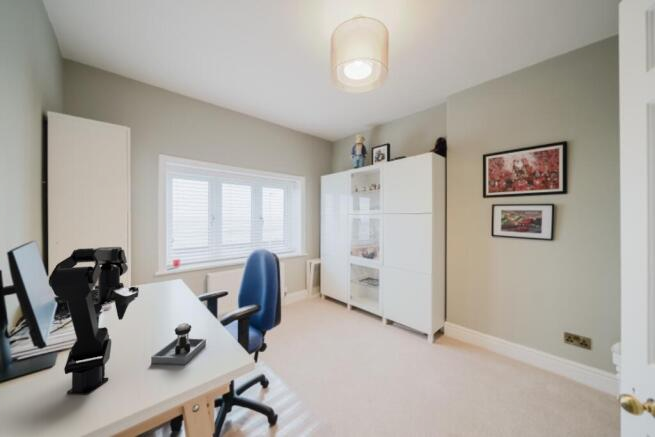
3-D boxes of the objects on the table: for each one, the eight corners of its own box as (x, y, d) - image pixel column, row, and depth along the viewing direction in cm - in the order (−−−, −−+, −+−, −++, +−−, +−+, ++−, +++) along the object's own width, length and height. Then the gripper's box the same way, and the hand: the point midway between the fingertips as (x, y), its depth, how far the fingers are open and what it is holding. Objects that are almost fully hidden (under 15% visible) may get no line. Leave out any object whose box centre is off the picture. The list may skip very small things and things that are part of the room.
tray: (184, 365, 81) (184, 357, 81) (151, 364, 81) (151, 356, 81) (205, 345, 94) (205, 338, 94) (176, 344, 94) (176, 337, 94)
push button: (168, 358, 84) (169, 330, 84) (171, 351, 89) (171, 324, 89) (190, 354, 87) (190, 327, 87) (191, 346, 91) (192, 321, 91)
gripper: (105, 289, 75) (104, 338, 75) (151, 275, 94) (150, 315, 94) (71, 289, 75) (71, 337, 75) (124, 275, 94) (124, 314, 94)
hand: (108, 324), depth 85 cm, fingers open, 9 cm apart
